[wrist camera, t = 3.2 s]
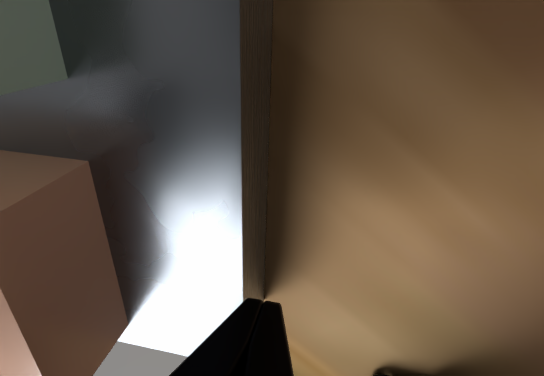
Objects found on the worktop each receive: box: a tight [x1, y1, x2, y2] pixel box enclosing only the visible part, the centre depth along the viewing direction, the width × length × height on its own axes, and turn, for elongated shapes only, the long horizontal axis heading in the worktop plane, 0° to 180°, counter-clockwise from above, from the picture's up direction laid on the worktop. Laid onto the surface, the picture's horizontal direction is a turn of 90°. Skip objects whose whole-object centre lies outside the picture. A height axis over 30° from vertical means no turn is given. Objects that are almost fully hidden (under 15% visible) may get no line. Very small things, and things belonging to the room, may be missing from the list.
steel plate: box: [0, 0, 273, 356], centre depth 10 cm, size 16×14×3 cm
